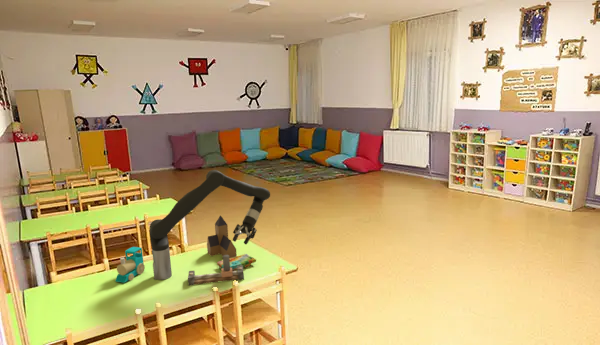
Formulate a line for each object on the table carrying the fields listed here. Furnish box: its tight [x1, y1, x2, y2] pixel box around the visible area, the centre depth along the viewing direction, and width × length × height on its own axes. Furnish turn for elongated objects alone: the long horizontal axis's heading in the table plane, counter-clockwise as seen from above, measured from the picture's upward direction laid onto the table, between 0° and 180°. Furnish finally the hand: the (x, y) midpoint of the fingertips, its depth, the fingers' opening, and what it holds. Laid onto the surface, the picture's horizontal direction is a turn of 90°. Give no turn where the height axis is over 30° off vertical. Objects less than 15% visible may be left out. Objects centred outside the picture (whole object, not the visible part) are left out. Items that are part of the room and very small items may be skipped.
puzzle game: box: [216, 253, 257, 271], centre depth 244 cm, size 12×5×20 cm
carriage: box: [220, 255, 233, 277], centre depth 229 cm, size 6×6×11 cm
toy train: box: [114, 246, 146, 284], centre depth 233 cm, size 8×17×15 cm, turn 162°
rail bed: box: [187, 265, 245, 286], centre depth 228 cm, size 30×9×5 cm, turn 101°
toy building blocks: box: [206, 215, 238, 258], centre depth 259 cm, size 12×19×25 cm
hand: (239, 242), depth 236 cm, fingers open, 8 cm apart
